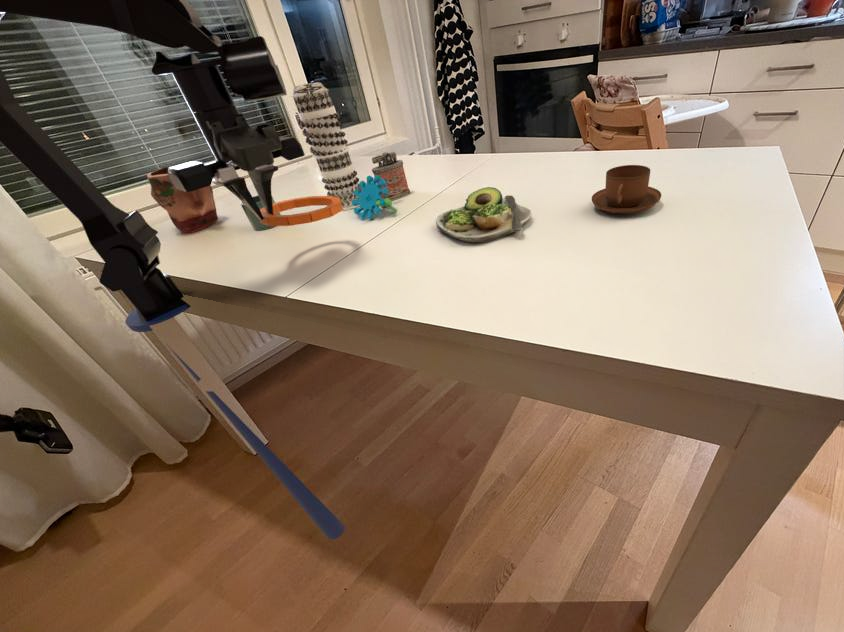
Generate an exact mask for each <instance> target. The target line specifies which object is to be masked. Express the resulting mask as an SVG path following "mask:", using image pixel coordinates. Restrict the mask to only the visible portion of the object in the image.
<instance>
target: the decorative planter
mask: <svg viewBox="0 0 844 632" xmlns="http://www.w3.org/2000/svg"><path fill="white" fill-rule="evenodd" d="M169 167H170V166H166V167H161V168H158V169H156V170H153V171H152V172H149V173H148V174H147V175H146V178H147V181H148V184H149V185H150V195H151V197H152V198H153V200H154V202H156V203H157V204H158V205H159V206H160V207H161V208H162V209H163V210H164V211H166V212H167V214H168V216H169V219H170V220H171V223H172V224H173V225H174V227H175V228H176V229H177V230H179V232H182V233H194V232H197V231H200V230H202V229H205V228H207V227H210V226H211V225H213V224H215V223H216V222H217V221H218V220H219V217H218V213H217V208H216V202H215V197H214V189H213V187H212V184H211V185H210V186H207V187H204V188H201V189H198V190H194V191H190V192H185V191H182V190H179V189H176V188H175V186H174V185H173V183H172V181H171V180H170V178H169V176H168V168H169Z"/></svg>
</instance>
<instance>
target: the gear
mask: <svg viewBox="0 0 844 632" xmlns="http://www.w3.org/2000/svg"><path fill="white" fill-rule="evenodd" d="M380 180H381V181H380ZM379 181H380V182H379ZM377 182H379V183H378V184H377ZM358 184H359V185H360V187H361V193H360V191H359V190H357V189H356V190H355V191H354V195H356V196H358V197H359V201H357V200H355V199H353V201H352V205H354V206H357V205H360V206H358V207H356V208H353V213H354V215H357V216H358V217H359V218H360V219H362V220H365V219H366V218H368V219H369V220H373V219H374V214H376V215H380V214H381V213H382V209H383V210H391V211H393V212H394V213H398V209H397V208H396V207H394V206H393V205H392V204H393V201H391V200H390V199H388V198H385V199H384V198H381V194H382V193H383V194H384V195H388V191H389V190H388V189H386V188H383V189H380V187H381V186H383V187H385V186H386V181H385V180H384V179H381V178H380V177H379V176H378V175H375V176H374V177H373V176H372V175H367V176H366V181H364V180H360V181H359V182H358Z"/></svg>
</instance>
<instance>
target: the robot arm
mask: <svg viewBox="0 0 844 632" xmlns="http://www.w3.org/2000/svg"><path fill="white" fill-rule="evenodd" d="M5 14H11V15H18V16H24V17H25V16H26V17H32V18H39V19H46V20H51V21H60V22H67V23H74V24H79V25H80V24H81V25H85V26H92V27H101V28H106V29H107V28H108V29H110V30H113V31H117V32H120V33H123V34H126V35H129V36H131V37H134V38H137V39H140V40H144V41H147V42H149V43H153V44H157V45H160V46H163V47H165V48H171V49H182V50H187V49H188V50H189V49H190V50H194V51H195V52H197V53H199V54H203V55H219V56H220V59H217V60H210V61H209V60H208V61H203V62H201V61H200V60H199V58H198V57H197V56H196V55H195V54H194V53H187V54H181V55H176V56H170V55H168V54H167V53H166V52H165V51H161V50H158V51H156V52H155V61H154V63H153V66H152V68H151V69H150V70H151V73H152V74H153V75H154V76H164V75H170V74H172V77H173V79H174V80H175V83H176V84H177V86H178V88H179V90H180V93H181V95H182V96H183V98H184V100H185V102H186V104H187V106H188V108H189V109H190V112H191V113H192V115H193V117H194V123H195V125H196V127H197V129H199V130H200V131H201V133H202V136H203V138H204V139H205V141H206V143H207V145H208V146H209V148H210V150H211V151H210V154H211V156H212V158H213V160H215V161H211V162H209V163H204V162H202V161H201V162H200V161H195V160H191V161H187V162H184V163H180V164H177V165H172V166H168V167H169V168H168V176H169V178H170V180H171V181H172V183H173V185H174V186H175V188H176V189H179V190H182V191H185V192H190V191H194V190H198V189H201V188H204V187H207V186H210V185H211V186H212V183H213V184H214V185H216V186H220V187H224V188H225V189H227V190H228V191H229V192H231V193H232V194H233V195H234V196H235V197H237V198H238V199H239V200H240V201H241V202H243V203H244V204H245V205H246V206H247V207H248V208H249V209H250V210H251V211H252V212H253V213H254V214H255V215H256V216H257V217H258V218H259V219H260V220H263V219H264V218H263V216H262V213H261V211H260V209H259V207H258V206H257V204H256V202H255V201H254V199H253V197H254V196H253V195H252V193H251V191H250V190H249V188H248V186H247V183H246V179H245V177H242V176H239V175H238V173H237V171H239V170H242V171H244V172H247V174H248V176H249V178H250V180H251V182H252V185H253V187H254V189H255V191H256V194H257V196H258V195H259V198H260V200H261V202H262V204H263V206H264V208H265V210H266V211H267V213H268V214H272V215H274V214H273V204H272V197H273V195H272V194H273V193H272V180H273V176H274V174H275V172H277V171H279V165H278V166H277V165H274V163H275V159H278V158H283V159H285V160H286V161H289V162H290V161H292V160H295V159H299V158H302V157H305V156H306V154H305V151H304V148H303V146H302V144H301V143H300V141H299V140H298V139H297V138H296V137H294V136H279V134H278V132H277V130H276V129H277V128H276V127H275V125H274V124H272V123H271V122H269V121H268V122H263V123H259V124H257V125H256V127H255V128H252V127H251V126H250V124H249V123H248V122H247V119H246V117H245V116H244V114H243V112H241V113H240V112H239V110H238V108H237V106H236V104H235V101H234V98H233V96H232V94H231V93H230V90H231V92H232V93H233V95H234V96H239V97H240V96H242V98H243V99H244V101H245V102H246V103H251V102H257V101H262V100H263V101H264V100H268V99H273V98H279V97H284V96H287V89H286V86H285V83H284V79H283V77H282V74H281V72H280V68H279V66H278V64H276V62H275V59H274V57H273V54H272V52H271V51H270V49H269V47H268V43H267V41H266V39H265V38H264V37H263V36H261V35H258V36H252V37H250V38H248V39H245V40H240V41H234V42H228V43H227V42H226V43H225V42H223V40H221V38H220V37H219V36H217V35H216V34H214V33H213V32H212V31H211V30H210V29H209V28H208V27H206V26H205V25H204V24H203V23H202V21H201V18H200V15H199V14H198V13H197V11H196V9H195V7H193V6H192V4H191V3H189V1H188V0H0V21H1V19H2V18H3V16H5ZM219 66H220V68H221V70H222V73H223V75H224V77H223V75H222V73H221V70H220V68H219ZM3 71H4V70H2V68H0V144H1V145H2V146H3V147H5V148H6V150H7V151H9V153H10V154H11V155H13V156H14V157H15V159H16V160H17V161H19V163H21V165H23V166H24V167H25V169H26V170H28V171H29V172H30V173H31V174H32V175H33V176H34V177H35V178H36V180H38V181H39V183H41V185H43V186H44V187H45V188H46V189H47V190H48V191H49V192H50V193H51V194H52V195H53V196H54V197H55V198H56V199H57V200H58V201H59V202H60V203H61V204H62V205H63V206H64V207H65V208H66V209H67V210H68V211H69V212H70V213H71V214H72V215H73V216H74V217H75V218H77V219H78V221H79V222H80V224H81V226H82V228H83V230H84V233H85V235H86V237H87V239H88V241H89V244H90V245H91V247H92V248H93V249H94V250H95V252H96V253H97V254H98V255H99V257H100V258H101V259H102V262H103V263H104V264H103V267H102V271H101V273H100V277H99V283H100V284H101V285H102V286H104V287H105V288H107V289H108V290H110V291H111V292H119V291H120V292H121V293H122V295H124V297H125V298H126V299H127V301H128V302H129V303H130V304H131V305H132V306H133V307H134V309H136V311H137V313H138V314H139V315H140V316H141V317H142V318H143V319H144V320H145V321H150V320H152V319H154V318H157V317H159V316H161V315H163V314H165V313H167V312H169V311H171V310H174V309H176V308H178V307H180V306H182V305H184V304H186V303H187V302H186V301H185V300H184V299H183V298H184V294H183V293H182V292H181V290H180V289H179V287H178V286H177V285H176V283H175V281H173V279H172V277H171V276H169V275H168V274H167V273H163V271H162V270H161V269H159V268H158V266H159V265H160V264H161V260H160V257H159V254H160V252H161V245H162V243H161V241H160V239H159V237H158V236H157V235H158V234H159V231H157V230H156V229H155V228H153V227H152V226H151V225H150V224H149V223H148V222H147V220H145V218H144V216H143V215H142V213H140V212H139V211H138V210H134V211H132V212H131V213H127V212H126V211H124V210H122V209H120V208H119V207H117V206H116V205H114V204H113V203H112V202H111V200H109V199H108V198H107V197H106V196H105V194H103V193H102V191H101V190H100V189H98V188H97V186H96V185H95V184H94V182H92V181H91V180H90V179H89V177H87V176H86V174H85V173H84V172H83V171H82V170H81V169H80V168H79V167H78V166H77V165H76V163H74V162H73V160H71V158H70V157H69V156H68V155H67V154H66V153H65V152H64V151H63V149H62V148H60V147H59V145H58V144H57V143H56V142H55V141H54V140H53V139H52V137H51V136H49V135H48V134H47V132H46V131H45V130H44V129H43V128H42V127H41V126H40V124H38V122H36V121H35V120H34V119H33V118H32V116H31V115H30V114H29V113H28V112H27V111H26V110H25V108H23V107H22V105H21V104H20V103H19V102H18V101H17V99H16V98H15V96H14V93H13V91H12V89H11V86H10V85H9V82H8V80H7V77H6V75H5V73H4V72H3ZM224 78H225V79H224ZM225 80H226V81H225ZM227 84H228V85H227ZM228 86H229V88H230V90H229V88H228Z"/></svg>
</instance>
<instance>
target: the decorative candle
mask: <svg viewBox="0 0 844 632" xmlns="http://www.w3.org/2000/svg"><path fill="white" fill-rule="evenodd" d="M329 90H330V89H329V88H326V87H325V85H323V83H321V82H320V81H315V82H310V83H304V84H300V85H297V86H295V87H293V90H292V91H293V94H292V95H291V98H292V99H293V101H294V105H295V107H296V109H297V115H298V117H299V119H298V120H297V124H298V126H300V127H301V128H303V129H302V135H303V136H304V137H306V138H305V143H306V144H308V145H309V146H310V148H309V152H310V154H312V158H313V159H315V161H316V163H317V165H318V168H319V173H320V176H321V182H322V183H323V184H324V186H323V187H324V189H325V190H326V191H327V193H326V196H332V197H337V198H340V200H341V204H342V209H343V210H342V211H341V212H343V211H349V210H353V209H354V208H359V207H360V205H357V206H354V205H352V201H353V199H355V200H357V201H359V197H358V196H356V195H354V191H355V190H356V189H357V190H359V191H360V193H361V187H360V185H359V182H360V178H359V177H357V175H358V172H357V171H356V170H355V166H354V163H353V162H352V160H351V156H350V154H349V151H350V147H349V146H347V144H348V140H347V139H345V138H344V137H345V136H346V133H345V131H342V130H341V128H342V127H343V125H344V123H343V122H342V121H340V120H339V119H340V118H341V114H340V113H338V112H337V111H336V108H335V105H334V104H333V101H332V98H331V94H330V92H329Z"/></svg>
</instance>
